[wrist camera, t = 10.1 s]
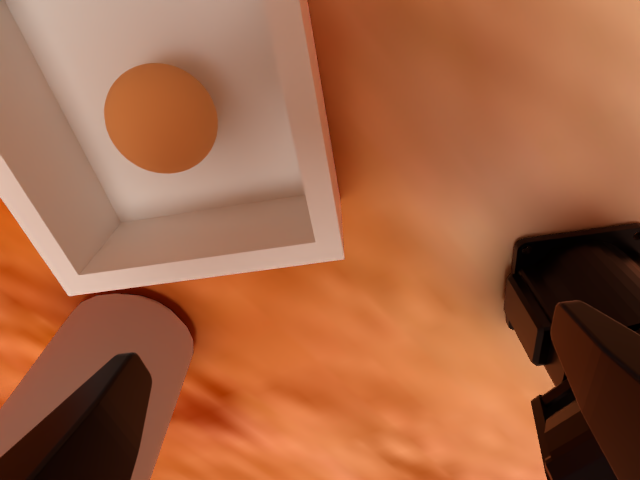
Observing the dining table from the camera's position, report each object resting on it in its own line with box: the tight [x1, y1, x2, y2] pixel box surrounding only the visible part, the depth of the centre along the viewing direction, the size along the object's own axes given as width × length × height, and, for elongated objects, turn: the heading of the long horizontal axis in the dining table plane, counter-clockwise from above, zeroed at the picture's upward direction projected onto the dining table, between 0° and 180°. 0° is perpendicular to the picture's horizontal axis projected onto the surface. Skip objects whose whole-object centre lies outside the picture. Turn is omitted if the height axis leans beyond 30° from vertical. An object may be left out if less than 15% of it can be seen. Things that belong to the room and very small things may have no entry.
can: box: [0, 294, 193, 480], centre depth 21 cm, size 8×8×12 cm
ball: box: [104, 63, 218, 174], centre depth 15 cm, size 4×4×4 cm
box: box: [0, 0, 345, 296], centre depth 16 cm, size 12×12×5 cm
